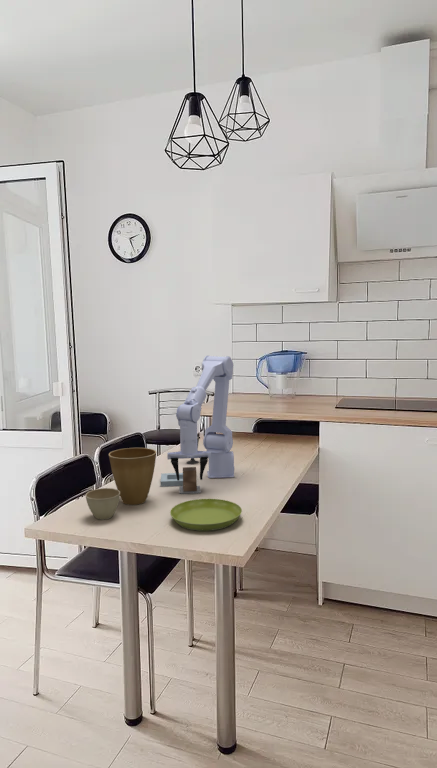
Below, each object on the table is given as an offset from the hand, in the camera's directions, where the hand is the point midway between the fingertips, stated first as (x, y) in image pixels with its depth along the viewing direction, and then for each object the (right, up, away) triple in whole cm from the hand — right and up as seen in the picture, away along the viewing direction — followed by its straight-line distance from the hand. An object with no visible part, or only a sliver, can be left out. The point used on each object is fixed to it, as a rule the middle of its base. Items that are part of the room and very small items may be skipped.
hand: (189, 479), depth 189 cm
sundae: (-1, 0, +36) cm, 36 cm away
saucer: (+6, -8, -27) cm, 29 cm away
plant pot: (-17, -6, -10) cm, 21 cm away
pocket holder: (-6, -3, +11) cm, 12 cm away
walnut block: (0, -3, +1) cm, 4 cm away
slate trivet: (0, -4, +1) cm, 4 cm away
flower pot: (-24, -7, -23) cm, 34 cm away
